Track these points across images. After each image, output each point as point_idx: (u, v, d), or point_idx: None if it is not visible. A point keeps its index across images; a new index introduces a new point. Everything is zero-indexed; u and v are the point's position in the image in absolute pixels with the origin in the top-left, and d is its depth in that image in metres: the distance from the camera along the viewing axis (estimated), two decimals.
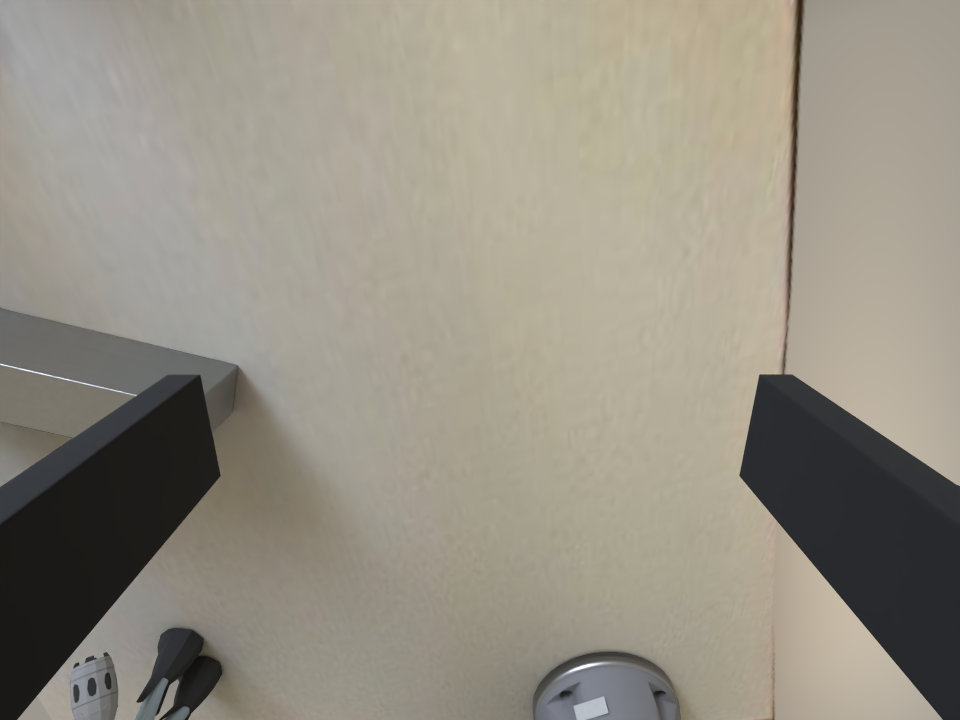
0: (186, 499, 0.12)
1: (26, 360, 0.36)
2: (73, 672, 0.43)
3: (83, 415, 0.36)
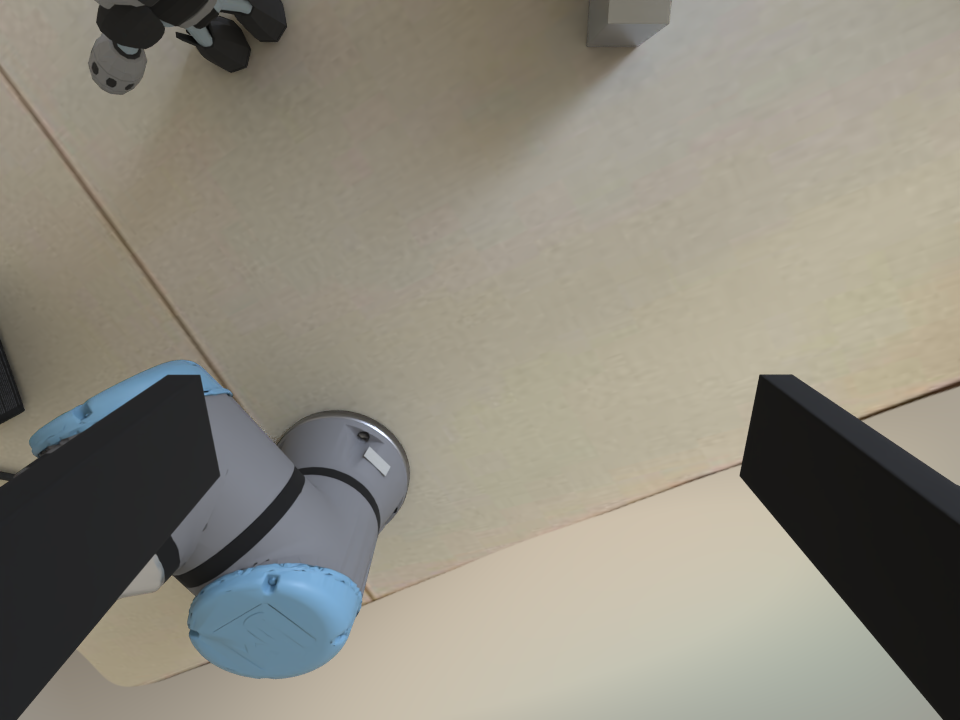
0: (185, 499, 0.12)
1: None
2: None
3: None
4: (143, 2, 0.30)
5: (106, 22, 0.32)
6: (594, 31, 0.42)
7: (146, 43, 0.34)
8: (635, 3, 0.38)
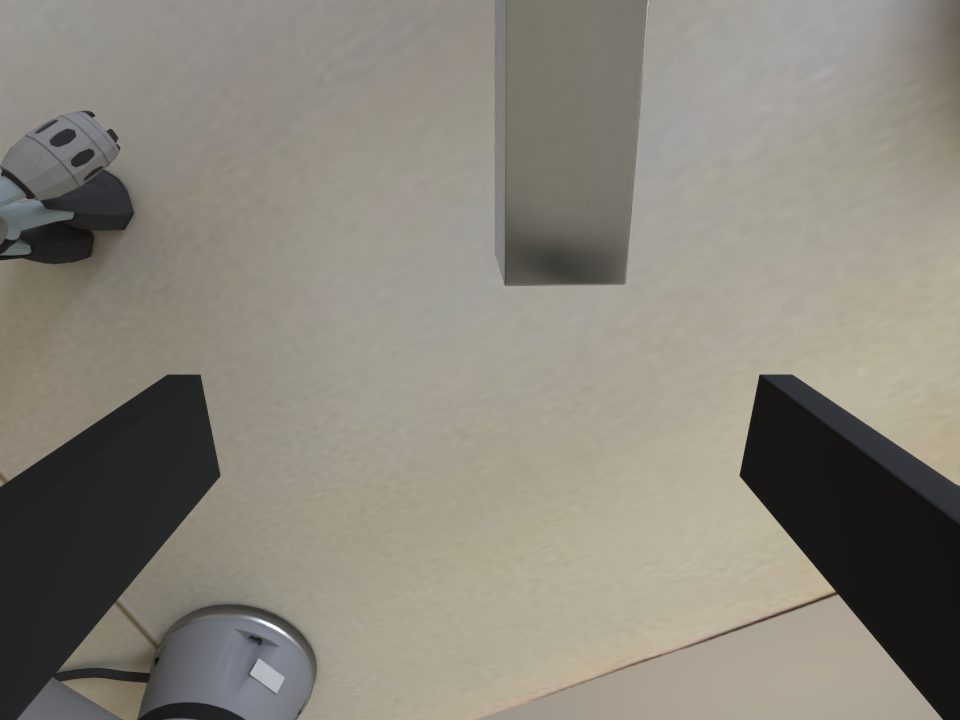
0: (185, 499, 0.12)
1: None
2: (83, 117, 0.28)
3: (567, 75, 0.17)
4: None
5: None
6: None
7: None
8: (557, 252, 0.19)
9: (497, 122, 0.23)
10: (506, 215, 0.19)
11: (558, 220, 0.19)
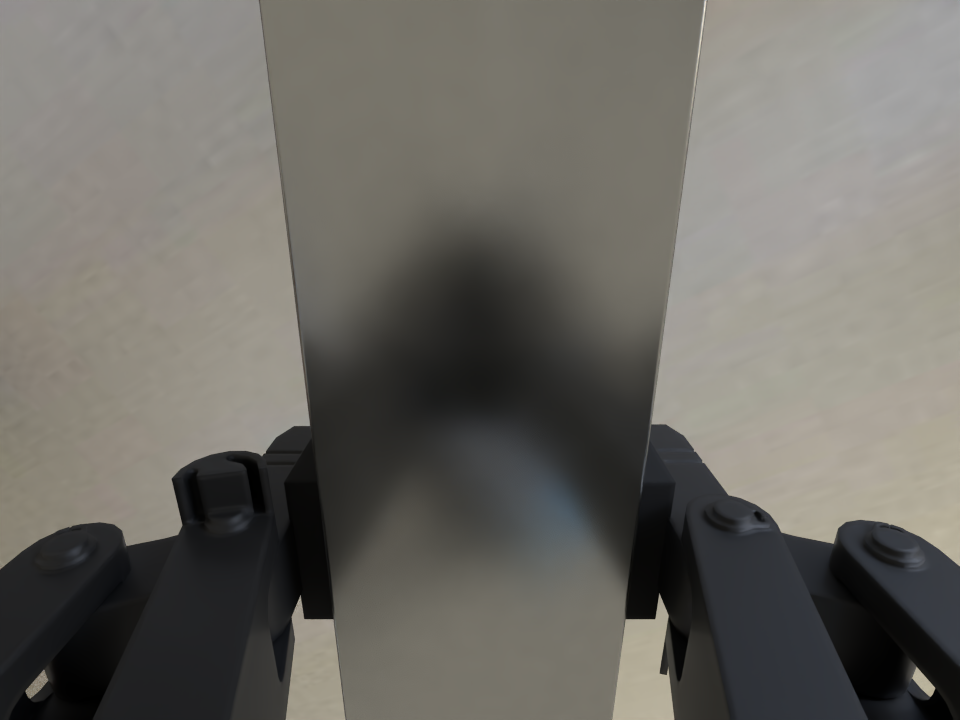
0: None
1: None
2: None
3: (461, 424, 0.07)
4: None
5: None
6: None
7: None
8: None
9: None
10: (341, 671, 0.08)
11: (456, 680, 0.08)
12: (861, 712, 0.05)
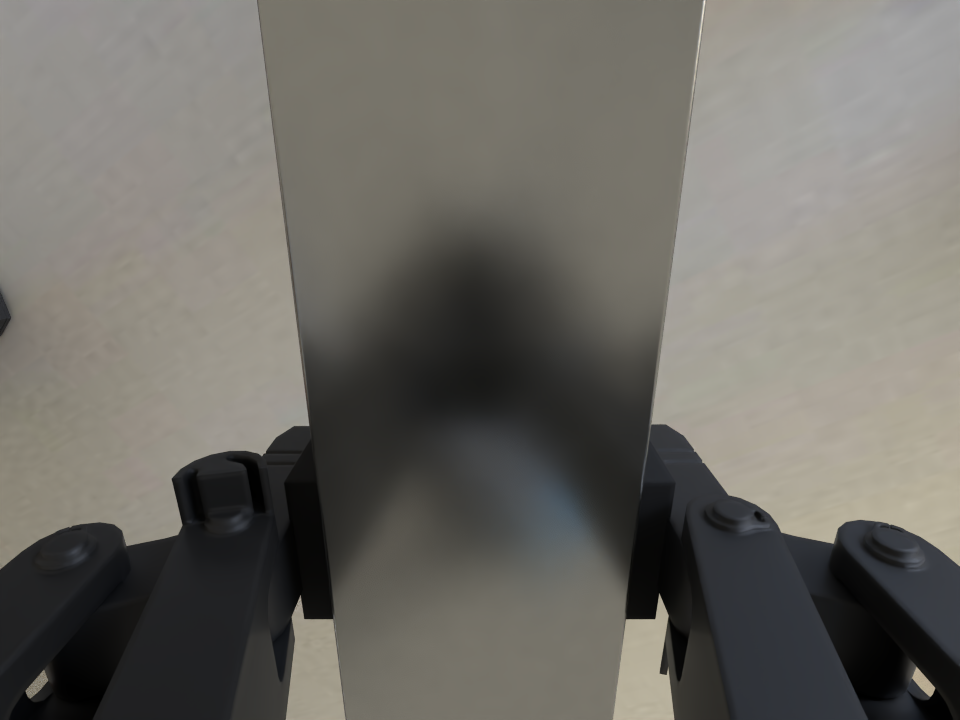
0: None
1: None
2: None
3: (461, 424, 0.07)
4: None
5: None
6: None
7: None
8: None
9: None
10: (341, 671, 0.08)
11: (456, 679, 0.08)
12: (861, 712, 0.05)
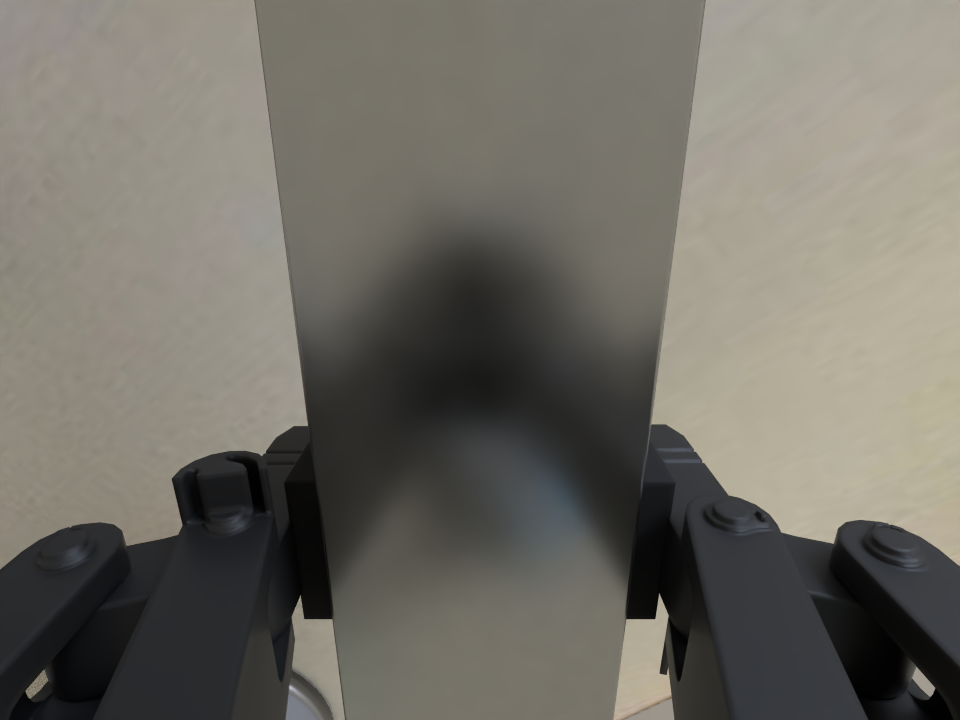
0: None
1: None
2: None
3: (460, 424, 0.07)
4: None
5: None
6: None
7: None
8: None
9: None
10: (340, 672, 0.08)
11: (456, 680, 0.08)
12: (861, 712, 0.05)
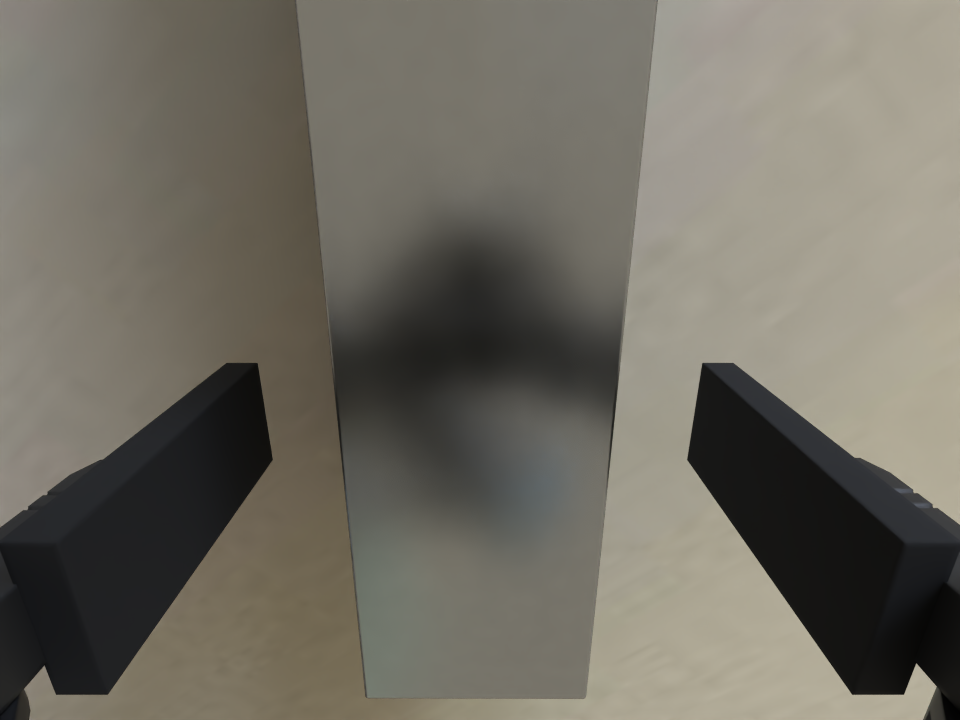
0: (246, 479, 0.12)
1: None
2: None
3: (460, 386, 0.08)
4: None
5: None
6: None
7: None
8: (458, 654, 0.10)
9: None
10: (357, 603, 0.10)
11: (456, 611, 0.10)
12: None
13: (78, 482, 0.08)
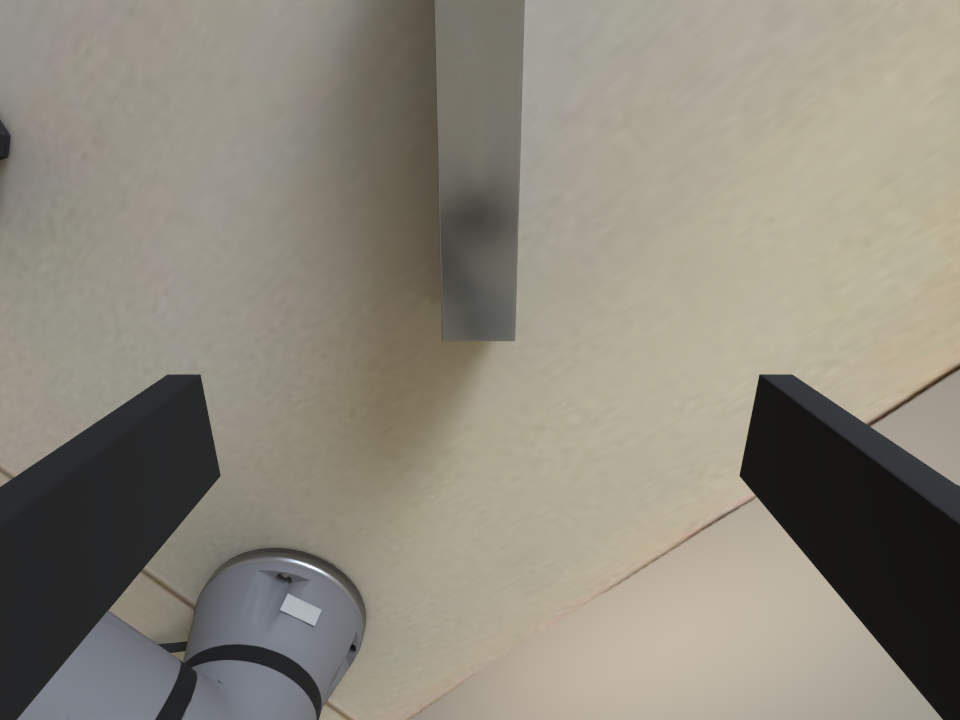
0: (186, 498, 0.12)
1: None
2: None
3: (474, 225, 0.30)
4: None
5: None
6: None
7: None
8: (473, 321, 0.32)
9: None
10: (441, 301, 0.31)
11: (472, 304, 0.32)
12: None
13: None
